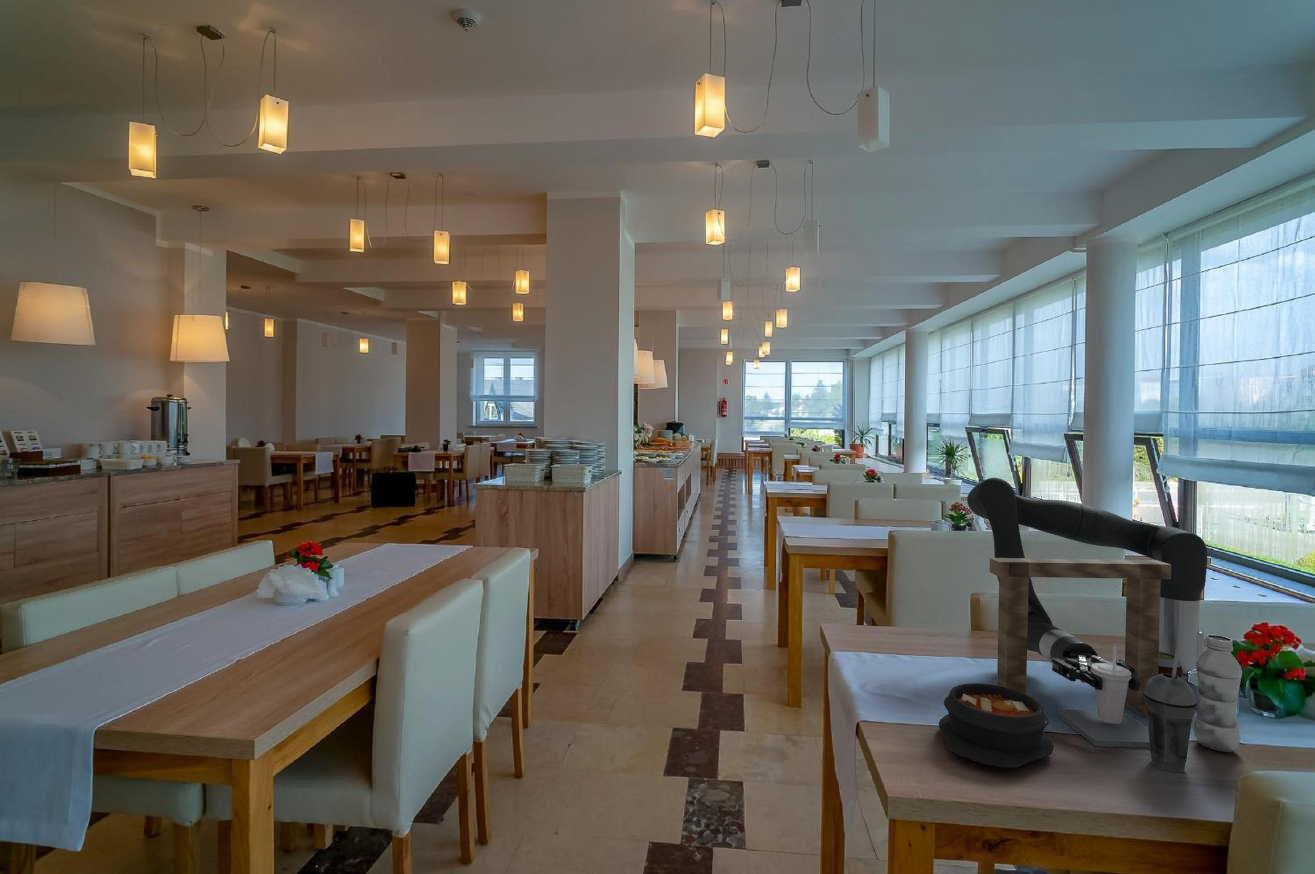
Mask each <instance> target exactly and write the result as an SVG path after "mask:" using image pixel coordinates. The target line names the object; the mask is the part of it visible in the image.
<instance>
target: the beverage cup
mask: <svg viewBox="0 0 1315 874" xmlns="http://www.w3.org/2000/svg"><path fill="white" fill-rule="evenodd" d="M1178 655H1179V650H1178V649H1175V656H1174V663H1173V670H1172V674H1158V675H1155V676H1153V677H1152V678H1151V679H1149V681H1148V682H1147V684H1146V686H1145V690H1144V693H1143V695H1144V699H1145V704H1146V707H1147V717H1148V718H1147V728H1148V730H1149V743H1150V748H1149V751H1150V752H1149V753H1150V758H1151V763H1152V765H1153V766H1154V767H1157V768H1158V769H1161V770H1163V771H1167V772H1171V773H1183V772H1185V771H1186V770H1185V768H1186V763H1187V759H1188V752H1189V744H1190V736H1191V729H1192V728H1191V727H1192V723H1193V722H1192V721H1193V718H1194V715H1195V712H1196V707H1198V704H1197V703H1198V702H1197V700H1196V696H1195V693H1194V690H1193V689H1192V687H1191V686H1190V684H1188V682H1187V681H1185V680H1184V679H1183V678H1180V677H1178V676H1176V670H1177V663H1178Z"/></svg>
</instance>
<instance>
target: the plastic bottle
mask: <svg viewBox="0 0 1315 874" xmlns="http://www.w3.org/2000/svg"><path fill="white" fill-rule="evenodd" d="M1205 636H1206V637H1205V647H1206V649H1205V650H1203V653H1202V654H1201V655H1200V656H1199V657H1198V659H1197V661H1196V670H1197V674H1196V676H1197V684H1198V685H1197V686H1198V687H1197V688H1198V702H1197V703H1198V704H1197V709H1196V710H1197V711H1196V716H1195V719H1194V723H1193V728H1192V729H1193V734H1194V737H1195V739H1196V741H1197V742H1198V743H1199V744H1200V745H1201V746H1204V747H1206V748H1208V749H1210V750H1213V751H1218V752H1225V753H1232V752H1235V751H1236V750H1237V749H1238V748H1239V746H1240V743H1241V733H1240V729H1239V726H1238V725H1239V724H1238V722H1239V721H1238V712H1237V706H1238V698H1239V697H1238V696H1239V690H1240V687H1241V686H1240V685H1241V681H1242V677H1243V670H1242V666H1241V665H1240V663H1239V662H1238V660H1237V659H1236V657H1235V656H1234V655H1233V654H1232V652H1233V651H1234V647H1233V639H1232V638H1230V637H1227V636H1223V635H1218V634H1206V635H1205Z"/></svg>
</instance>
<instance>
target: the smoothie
mask: <svg viewBox="0 0 1315 874" xmlns="http://www.w3.org/2000/svg"><path fill="white" fill-rule="evenodd" d="M1117 648H1118V647H1117V646H1115V645H1113V647H1112V663H1113V664H1108V663H1095V664H1092V665H1091V672H1092V673H1093V674H1095V675H1097V676H1098V677H1100V678H1101V679H1102V690H1097V689H1095V688H1094V694H1095V704H1096V710H1097V713H1098V718H1099V719H1101V720H1102V721H1105V722H1108V723H1113V724H1119V723H1121V721H1122V716H1123V712H1124V709H1125V706H1126V705H1125V699H1126V694H1127V689H1128V683H1129V680H1130V679H1131V672H1130V671H1129V670H1128V669H1126V668H1124V667H1121V666H1117V665H1116V659H1117V652H1118V651H1117Z"/></svg>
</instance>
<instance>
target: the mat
mask: <svg viewBox="0 0 1315 874" xmlns="http://www.w3.org/2000/svg"><path fill="white" fill-rule="evenodd" d="M1055 715H1056V716H1057V717H1059V718H1060V719H1061V720H1062V721H1063V722H1064V723H1066V724H1067V725H1069V727H1071V728H1072V729H1074V730H1075V731H1076V732H1077V733H1078V734H1079V735H1081V736H1082V737H1083V738H1085V739H1086V740H1087V741H1088V742H1090V743H1091V744H1092V745H1093V746H1094V747H1110V748H1145V749H1147V748H1149V749H1150V743H1149V730H1148V726H1146V725H1145V724H1143V723H1141V722H1140V721H1138V720H1137V719H1135V718H1133V717H1132V716H1131V715H1129V714H1128V713H1126V712H1125V711H1123V716H1122V721H1121V723H1119V724H1113V723H1108V722H1105V721H1102V720H1101V719H1099V718H1098V713H1097V709H1096V710H1095V709H1094V710H1093V709H1062V708H1061V709H1057V708H1056V709H1055Z"/></svg>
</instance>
